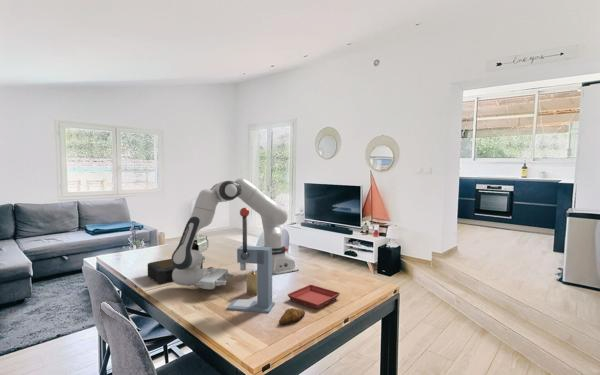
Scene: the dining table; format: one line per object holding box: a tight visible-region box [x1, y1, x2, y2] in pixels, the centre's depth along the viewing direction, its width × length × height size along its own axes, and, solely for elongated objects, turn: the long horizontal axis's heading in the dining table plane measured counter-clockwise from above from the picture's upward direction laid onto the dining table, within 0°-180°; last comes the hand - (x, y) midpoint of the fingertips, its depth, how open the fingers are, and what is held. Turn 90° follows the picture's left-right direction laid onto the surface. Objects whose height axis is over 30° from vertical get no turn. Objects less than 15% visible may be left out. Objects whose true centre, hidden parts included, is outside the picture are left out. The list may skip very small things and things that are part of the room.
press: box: [225, 245, 275, 314], centre depth 146 cm, size 19×10×26 cm, turn 80°
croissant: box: [278, 308, 306, 326], centre depth 134 cm, size 14×7×5 cm, turn 135°
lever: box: [239, 207, 250, 260], centre depth 140 cm, size 4×4×22 cm
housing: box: [246, 269, 257, 296], centre depth 162 cm, size 5×5×12 cm
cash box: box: [147, 258, 204, 285], centre depth 189 cm, size 25×20×8 cm
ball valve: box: [191, 234, 209, 263], centre depth 215 cm, size 18×8×18 cm, turn 168°
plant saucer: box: [287, 284, 341, 310], centre depth 154 cm, size 18×18×3 cm
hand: (229, 279), depth 164 cm, fingers open, 8 cm apart
